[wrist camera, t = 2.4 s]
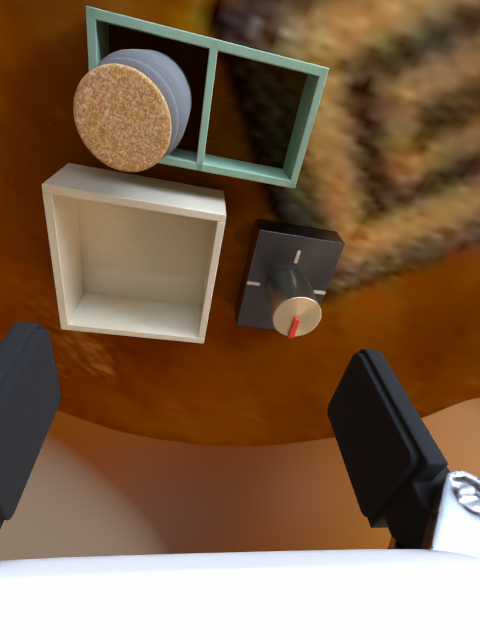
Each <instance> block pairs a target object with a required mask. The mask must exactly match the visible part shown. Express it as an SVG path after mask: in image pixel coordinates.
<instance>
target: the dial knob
mask: <svg viewBox="0 0 480 640" xmlns="http://www.w3.org/2000/svg"><path fill="white" fill-rule="evenodd" d="M265 292H266V297H267V301H268V305H269V309H270V313H271V317H272V321H273V325H274V327H275V328H276V330H277V331H278V332H280V333H281V334H283V335H286V336H288V338H294V336H301V335H304V334H306V333H308V332H310V331H312V330H313V329H314V328H315V327H316V326H317V325H318V323H319V321H320V319H321V308H320V306H319V304H318V301H317V299H316V297H315V295H314V292H313V290H312V288H311V286H310V283H309V281H308V279H307V277H306V276H305V275H304V274H303V273H302V272H301V271H298V270H295V269H284V270H281V271H278V272H276V273H275V274H273V275H272V276H271V277H270V278H269V280H268V282H267V284H266V287H265Z"/></svg>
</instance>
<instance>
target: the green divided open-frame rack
mask: <svg viewBox="0 0 480 640" xmlns="http://www.w3.org/2000/svg"><path fill="white" fill-rule="evenodd" d="M85 8H86V28H87V49H88V69H89V71H91V70H92V69H93V68H94V67H95V66H96V65H97V64H98V63H99V62H100V61H101V60H102V59H103V58H104V57H106V56H107V55H109V24H111V25H115V26H119V27H123V28H127V29H131V30H135V31H139V32H143V33H147V34H151V35H155V36H159V37H163V38H167V39H171V40H175V41H179V42H183V43H187V44H191V45H195V46H198V47H202V48H206V49H209V55H208V64H207V72H206V81H205V90H204V98H203V107H202V116H201V124H200V133H199V142H198V150H197V152H194V151H189V150H184V149H179V148H175V149H174V150H173V151H172V152H171V153H170V154H168V155H167V156H165V157H163V158H162V159H161V160H159V161H158V162H157V163H161V164H166V165H171V166H177V167H182V168H187V169H193V170H198V171H203V172H208V173H214V174H219V175H224V176H230V177H235V178H240V179H246V180H251V181H256V182H262V183H267V184H272V185H278V186H283V187H288V188H293V189H295V186H296V183H297V179H298V176H299V172H300V169H301V165H302V162H303V158H304V155H305V151H306V148H307V144H308V141H309V137H310V134H311V130H312V127H313V123H314V120H315V116H316V113H317V109H318V106H319V102H320V99H321V95H322V92H323V88H324V85H325V81H326V78H327V74H328V71H329V68H326V67H322V66H318V65H314V64H310V63H307V62H303V61H299V60H295V59H291V58H287V57H283V56H279V55H276V54H272V53H268V52H264V51H260V50H256V49H252V48H248V47H245V46H241V45H237V44H233V43H229V42H225V41H221V40H217V39H214V38H210V37H206V36H202V35H198V34H194V33H190V32H186V31H183V30H179V29H175V28H171V27H167V26H163V25H159V24H155V23H152V22H148V21H144V20H140V19H136V18H132V17H128V16H124V15H121V14H117V13H113V12H109V11H105V10H101V9H97V8H94V7H90V6H85ZM218 52H222V53H226V54H230V55H234V56H238V57H242V58H246V59H250V60H254V61H258V62H262V63H266V64H270V65H274V66H278V67H282V68H286V69H290V70H294V71H298V72H302V73H306V74H307V76H306V80H305V84H304V88H303V92H302V95H301V99H300V103H299V107H298V111H297V115H296V119H295V123H294V127H293V130H292V134H291V138H290V142H289V146H288V150H287V154H286V158H285V162H284V165H283V169H280V168H275V167H270V166H265V165H260V164H255V163H250V162H245V161H240V160H234V159H229V158H224V157H219V156H214V155H209V154H205V147H206V140H207V132H208V124H209V116H210V108H211V100H212V93H213V85H214V77H215V69H216V61H217V53H218Z"/></svg>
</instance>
